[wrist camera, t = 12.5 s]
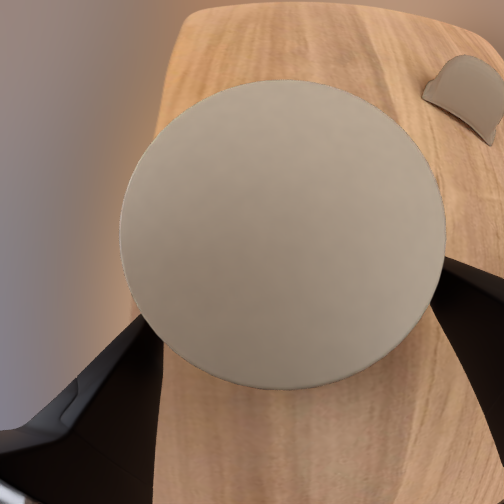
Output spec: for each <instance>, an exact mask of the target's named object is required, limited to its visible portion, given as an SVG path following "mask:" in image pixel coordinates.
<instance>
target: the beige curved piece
mask: <svg viewBox="0 0 504 504" xmlns="http://www.w3.org/2000/svg"><path fill="white" fill-rule="evenodd" d="M422 98H423V99H424V100H427V101H429V102H431V103H433V104H436V105H438V106H440V107H442V108H444V109H446V110H447V111H449V112H451V113H452V114H454V115H456V116H457V117H459V118H460V119H462V120H463V121H465V122H466V123H467V124H468V125H470V126H471V127H472V128H473V129H474V130H475V131H476V132H477V133H478V134H479V135H480V136H481V137H482V138H483V139H484V140H485V141H486V143H487V144H488V145H490V146H491V145H492V143H493V141H494V138H495V134H496V126H497V125H498V124H499V122H500V121H501V119H502V117H503V115H504V81H503V79H502V78H501V76H500V75H499V74H498V73H497V72H496V70H495V69H493V68H492V67H491V66H490V65H488V64H487V63H485V62H484V61H482V60H480V59H478V58H476V57H473V56H469V55H460V56H455V57H454V58H452V59H451V60H449V61H448V62H447V63H446V64H445V65H444V66H443V68H442V69H441V71H440V72H439V74H438V75H437V77H436V78H435V79H434V80H431V81H429V82H428V83H427V85H426V88H425V90H424V93H423V97H422Z"/></svg>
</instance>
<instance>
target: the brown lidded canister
mask: <svg viewBox="0 0 504 504" xmlns="http://www.w3.org/2000/svg"><path fill="white" fill-rule="evenodd" d="M119 228H120V229H119V244H120V256H121V261H122V266H123V271H124V275H125V278H126V281H127V284H128V286H129V289H130V292H131V295H132V297H133V299H134V301H135V303H136V304H137V306H138V308H139V310H140V312H141V314H142V315H143V317H144V318H145V320H146V321H147V322H148V324H149V325H150V326H151V328H152V329H153V330H154V332H155V333H156V334H157V335H158V336H159V337H160V338H161V339H162V340H163V341H164V342H165V343H166V344H167V345H168V346H169V347H170V348H171V349H172V350H173V351H174V352H175V353H177V354H178V355H179V356H181V357H182V358H184V359H185V360H186V361H188V362H189V363H190V364H192V365H194V366H195V367H197V368H199V369H201V370H203V371H205V372H207V373H209V374H210V375H212V376H215V377H217V378H220V379H223V380H226V381H229V382H231V383H234V384H237V385H242V386H247V387H252V388H258V389H263V390H298V389H307V388H315V387H319V386H323V385H326V384H330V383H334V382H337V381H340V380H343V379H345V378H347V377H350V376H352V375H354V374H356V373H359V372H361V371H363V370H365V369H366V368H368V367H369V366H371V365H373V364H374V363H376V362H377V361H379V360H380V359H382V358H383V357H385V356H386V355H387V354H388V353H389V352H391V351H392V350H393V349H394V348H395V347H396V346H397V345H399V344H400V343H401V342H402V341H403V340H404V339H405V337H406V336H407V335H408V334H409V333H410V331H411V330H412V329H413V328H414V327H415V325H416V324H417V323H418V321H419V320H420V318H421V317H422V315H423V313H424V312H425V310H426V308H427V307H428V305H429V303H430V301H431V299H432V297H433V294H434V292H435V289H436V287H437V285H438V282H439V279H440V275H441V271H442V267H443V263H444V257H445V248H446V218H445V212H444V207H443V201H442V197H441V194H440V191H439V188H438V185H437V182H436V179H435V177H434V175H433V172H432V170H431V168H430V166H429V164H428V162H427V160H426V159H425V157H424V156H423V154H422V153H421V151H420V149H419V148H418V146H417V145H416V144H415V143H414V141H413V140H412V139H411V138H410V137H409V135H408V134H407V133H406V132H405V131H404V130H403V129H402V128H401V127H400V126H399V125H398V124H397V123H396V122H395V121H394V120H393V119H392V118H390V117H389V116H388V115H386V114H385V113H384V112H382V111H381V110H380V109H378V108H377V107H375V106H374V105H372V104H370V103H369V102H367V101H365V100H363V99H362V98H360V97H357V96H355V95H353V94H351V93H348V92H346V91H344V90H341V89H338V88H334V87H331V86H328V85H324V84H319V83H314V82H309V81H299V80H267V81H259V82H252V83H248V84H243V85H239V86H235V87H232V88H229V89H227V90H224V91H221V92H218V93H216V94H214V95H212V96H210V97H208V98H205V99H203V100H202V101H200V102H198V103H197V104H195V105H193V106H192V107H190V108H188V109H187V110H186V111H184V112H183V113H182V114H180V115H179V116H178V117H176V118H175V119H174V120H173V121H172V122H171V123H170V124H168V125H167V126H166V127H165V128H164V129H163V130H162V131H161V132H160V133H159V134H158V136H157V137H156V138H155V139H154V140H153V142H152V143H151V144H150V145H149V147H148V148H147V150H146V151H145V153H144V154H143V156H142V157H141V159H140V161H139V162H138V164H137V166H136V168H135V170H134V172H133V174H132V177H131V179H130V181H129V184H128V187H127V190H126V193H125V196H124V200H123V205H122V210H121V215H120V227H119Z"/></svg>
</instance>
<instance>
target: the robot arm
mask: <svg viewBox="0 0 504 504" xmlns="http://www.w3.org/2000/svg"><path fill="white" fill-rule="evenodd" d="M430 305H431V308H432V310H433V312H434V314H435V316H436V318H437V320H438V322H439V323H440V325H441V327H442V329H443V331H444V332H445V334H446V336H447V338H448V340H449V342H450V343H451V345H452V347H453V349H454V351H455V353H456V355H457V357H458V359H459V361H460V363H461V365H462V367H463V369H464V371H465V373H466V375H467V377H468V379H469V381H470V384H471V386H472V388H473V390H474V392H475V394H476V397H477V399H478V401H479V404H480V406H481V408H482V411H483V413H484V415H485V418H486V421H487V423H488V426H489V429H490V431H491V434H492V437H493V439H494V442H495V445H496V448H497V451H498V454H499V457H500V460H501V463H502V465H503V467H504V279H503V278H500V277H498V276H495V275H493V274H490V273H488V272H485V271H483V270H480V269H477V268H475V267H472V266H470V265H467V264H464V263H462V262H459V261H456V260H454V259H451V258H448V257H446V256H445V257H444V263H443V267H442V271H441V275H440V279H439V282H438V285H437V287H436V289H435V292H434V294H433V297H432V299H431V301H430ZM163 351H164V341H163V340H162V339H161V338H160V337H159V336H158V335H157V334H156V333H155V332H154V330H153V329H152V328H151V326H150V325H149V324H148V322H147V321H146V320H145V318H144V317H143V315H142V314H140V315H139V316H138V317H137V318H136V319H135V320H134V321H133V322H132V323H131V324H130V325H129V326H127V328H125V329H124V330H123V331H122V332H121V333H120V334H119V335H118V336H117V337H116V338H115V339H114V340H113V341H112V342H111V343H110V344H109V345H108V346H107V347H106V348H105V349H104V350H103V351H102V352H101V353H100V354H99V355H98V356H97V357H96V358H95V359H94V360H93V361H92V362H91V363H90V364H89V365H88V366H87V367H86V368H85V369H84V370H83V371H82V372H81V373H80V374H79V375H78V376H77V378H75V379H74V380H73V381H72V382H71V383H70V384H69V385H68V386H67V387H66V388H65V389H64V390H63V391H62V392H61V393H60V394H59V395H58V396H57V397H56V398H54V399H53V400H52V401H51V402H50V403H49V404H48V405H47V406H46V407H44V408H43V409H42V410H41V411H40V412H39V413H38V414H37V415H35V416H34V417H33V418H32V419H31V420H30V421H29V422H27V423H26V424H25V425H23V426H22V427H19V428H16V429H12V430H3V431H0V504H152V502H153V488H152V487H153V477H154V461H155V447H156V435H157V425H158V414H159V405H160V396H161V388H162V379H163ZM498 504H504V500H502V501H501V502H499V503H498Z"/></svg>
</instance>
